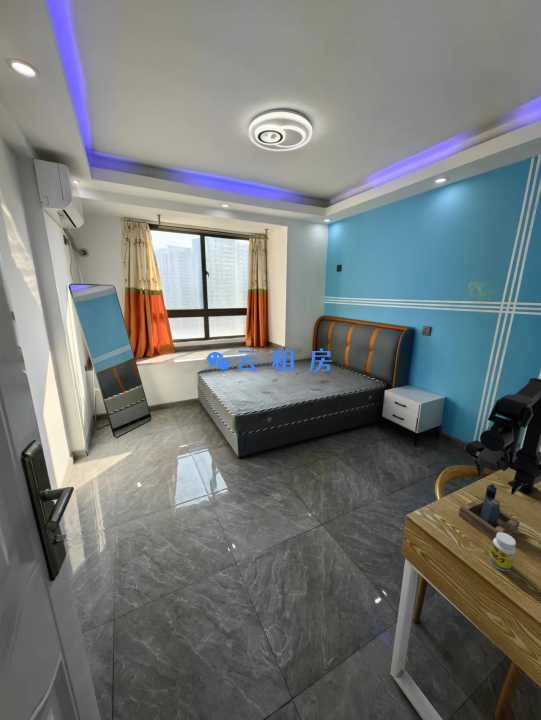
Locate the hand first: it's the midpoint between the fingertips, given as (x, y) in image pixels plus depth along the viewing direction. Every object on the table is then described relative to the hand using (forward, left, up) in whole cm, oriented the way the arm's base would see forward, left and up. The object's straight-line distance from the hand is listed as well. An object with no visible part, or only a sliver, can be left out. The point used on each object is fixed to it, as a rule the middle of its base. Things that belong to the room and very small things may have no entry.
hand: (495, 484), depth 89 cm
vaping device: (+2, +1, -12) cm, 12 cm away
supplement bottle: (+14, +11, -13) cm, 22 cm away
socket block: (+2, +1, -13) cm, 13 cm away
